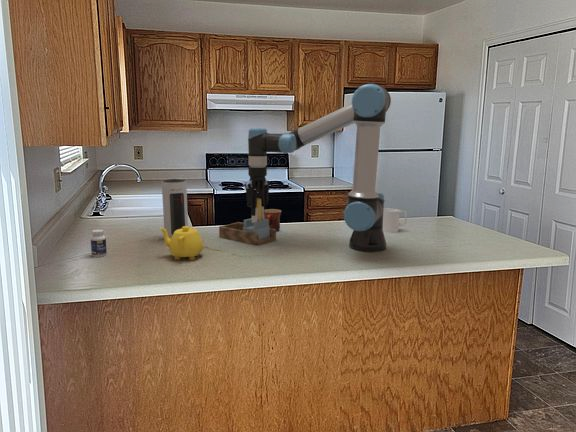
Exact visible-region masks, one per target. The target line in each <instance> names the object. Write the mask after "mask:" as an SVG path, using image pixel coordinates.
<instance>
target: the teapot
mask: <svg viewBox="0 0 576 432" xmlns="http://www.w3.org/2000/svg"><path fill="white" fill-rule="evenodd" d="M158 228H159V229H160V230H161V231H162V233H163V241H164V243H165V245H166V246H167V247H168V250H169V252H170V254H171V255H172V256H173V257H174V259H173V260H175V261H176V260H180V259H181V258H188V260H189V261H195V260H196V257H197V256H199V255H200V254H201V253H202V251H203V249H204V243H203V240H202V237H201V235H200V233H199V231H198V230H197V229H196V228H193V227H192V226H191V227H190V226H189V225H188V226H183V227H182V229H178V230H176V231H175V232H174V234H173V236H172V238H171V239H170V238H169V237H168V233H167V230H166V229H164V227H160V226H159V227H158Z"/></svg>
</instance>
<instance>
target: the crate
mask: <svg viewBox="0 0 576 432" xmlns="http://www.w3.org/2000/svg"><path fill="white" fill-rule="evenodd" d="M243 223H244V227H243V231H246V232H251V233H256V234H259V240H261V239H265V238H269V237H270V227H269V219H265V220H261V221H256V222H254V223H252V217H251V218H247V219H243Z"/></svg>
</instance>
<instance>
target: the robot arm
mask: <svg viewBox="0 0 576 432" xmlns="http://www.w3.org/2000/svg"><path fill="white" fill-rule="evenodd" d="M391 99H392V98H391V94H390V93H389V91H388V90H387V88H385V87H383V86H381V85H379V84H376V83H366V84H363V85H362V84H361V86H359V87H358V88H356V90H355V91H354V92H353V95H352V96H351V103H349V104H347V105H345V106H343V107H341V108H339V109H337V110H334V111H333V112H331V113H328V114H326V115H324V116H322V117H320V118H318V119H316V120H314V121H312V122H309V123H307V124H305V125H303V126H301V127H298V128H297V129H294V130H292V131H290V132H285V133H283V132H282V133H268V129H267V128H265V127H251V128H249V129H248V137H247V144H248V166H249V167H248V171H247V172H248V176H249V180H248V182H246V183H244V188H245V196H246V206H247V207H249V208H250V215H251V218H252V223H254V222H256V221H258V208H256V204H257V198H261V220H264V210H265V207H267V205H268V204H269V194H270V193H269V192H270V185H271V181H270V180H267V179H266V176H267V175H268V172H267V171H268V168H267V166H268V154H267V153H281V154H292V153H294V152H296V151H298V150H300V149H301V148H302V147H305V146H307V145H309V144H311V143H313V142H315V141H317V140H320V139H322V138H324V137H327V136H328V135H331V134H333V133H335V132H338V131H340V130H341V129H344V128H346V127H349V126H351V125H353V124H355V126H356V137H355V152H354V160H353V161H354V163H353V164H354V165H353V175H352V177H353V179H352V188H351V190H350V192H348V193H347V203H346V204H347V205H346V207H345V209H344V211H343V220H344V223H345V224H346V225H347V226H348V227H349V228H350V229H351V230H352V233H351V235H350V239H349V240H348V241H349V244H348V246H349V248H350V249H353V250H355V251H361V252H372V253H373V252H380V251H384V250H386V249H387V241H386V238H385V234H384V233H385V232H383V212H384V209H385V195H384V194H383V193H381V192H376V187H377V186H376V183H377V173H378V163H379V162H378V161H379V160H378V159H379V149H380V148H379V147H380V137H381V136H380V135H381V127H382V126H383V125H385V124H386V117H387V115H386V114H387V112H388V110H390V107H391V103H392V100H391Z"/></svg>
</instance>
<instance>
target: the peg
mask: <svg viewBox="0 0 576 432" xmlns="http://www.w3.org/2000/svg"><path fill="white" fill-rule="evenodd" d="M256 208H258V221H261V198H258V197H257V204H256Z"/></svg>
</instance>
